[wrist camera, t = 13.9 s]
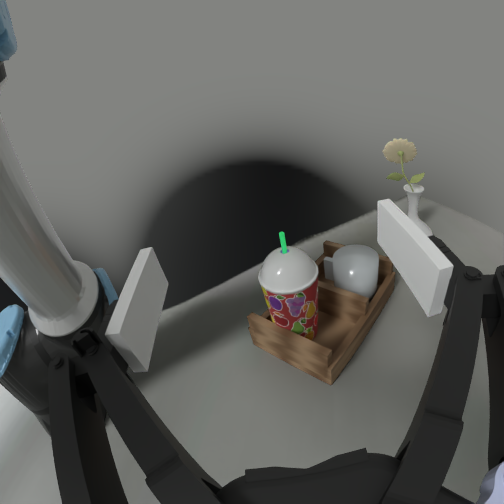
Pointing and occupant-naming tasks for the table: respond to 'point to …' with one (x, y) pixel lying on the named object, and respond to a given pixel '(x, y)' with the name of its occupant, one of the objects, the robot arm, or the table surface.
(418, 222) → the flower in vase
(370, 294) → the mug
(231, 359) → the table surface
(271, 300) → the smoothie
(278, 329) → the rack
